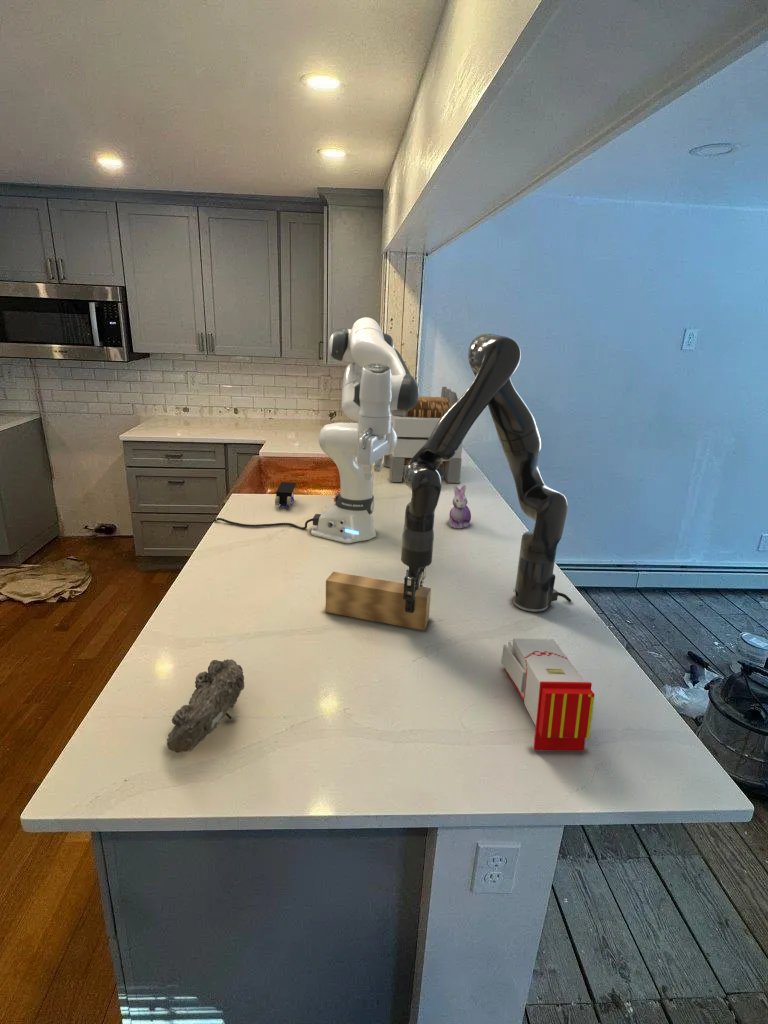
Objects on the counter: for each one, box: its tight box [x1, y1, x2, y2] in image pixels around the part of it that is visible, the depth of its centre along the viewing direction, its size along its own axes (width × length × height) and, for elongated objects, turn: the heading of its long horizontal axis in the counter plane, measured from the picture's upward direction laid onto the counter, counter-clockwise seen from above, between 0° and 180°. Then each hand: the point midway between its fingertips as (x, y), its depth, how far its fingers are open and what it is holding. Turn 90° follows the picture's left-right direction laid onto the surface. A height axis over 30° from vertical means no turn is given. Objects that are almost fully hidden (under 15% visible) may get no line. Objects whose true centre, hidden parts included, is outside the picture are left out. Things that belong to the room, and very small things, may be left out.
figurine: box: [448, 484, 472, 529], centre depth 208 cm, size 9×10×15 cm
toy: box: [500, 637, 595, 752], centre depth 114 cm, size 12×13×30 cm
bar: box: [325, 571, 432, 631], centre depth 145 cm, size 26×5×9 cm, turn 74°
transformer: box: [382, 386, 464, 484], centre depth 268 cm, size 34×33×41 cm
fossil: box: [166, 658, 245, 754], centre depth 106 cm, size 22×10×15 cm
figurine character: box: [274, 481, 297, 510], centre depth 222 cm, size 7×8×15 cm
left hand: (373, 475), depth 159 cm, fingers open, 8 cm apart
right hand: (413, 604), depth 142 cm, fingers open, 7 cm apart
